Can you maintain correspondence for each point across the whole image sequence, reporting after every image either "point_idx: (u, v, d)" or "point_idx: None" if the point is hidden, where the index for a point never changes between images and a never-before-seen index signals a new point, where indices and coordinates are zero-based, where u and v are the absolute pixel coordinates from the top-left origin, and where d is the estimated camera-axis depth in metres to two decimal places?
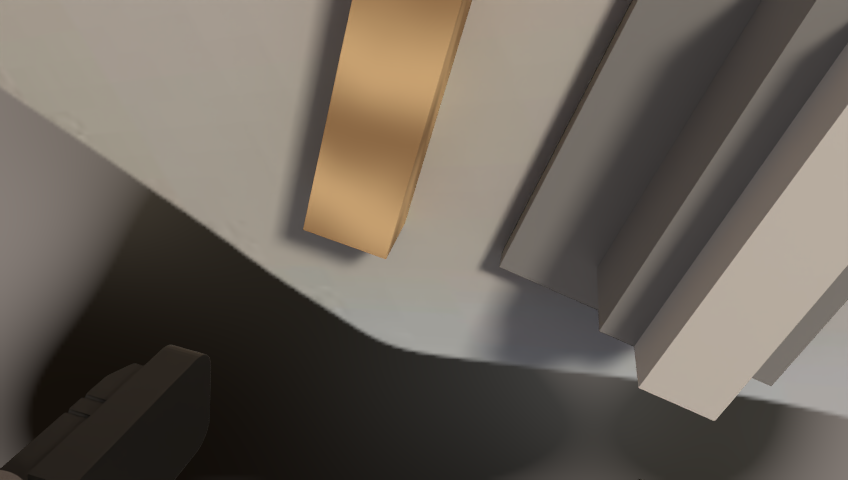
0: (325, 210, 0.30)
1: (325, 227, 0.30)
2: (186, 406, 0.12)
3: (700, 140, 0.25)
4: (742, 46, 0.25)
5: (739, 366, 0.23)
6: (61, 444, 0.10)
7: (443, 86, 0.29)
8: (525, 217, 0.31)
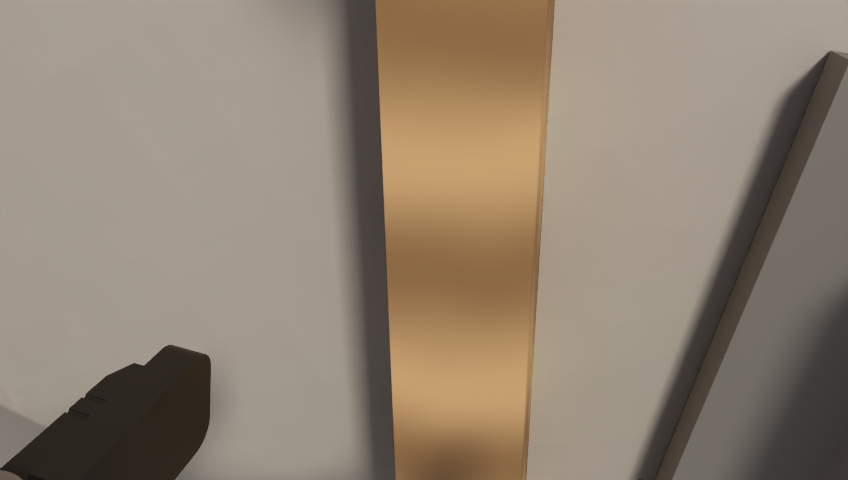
0: None
1: None
2: (186, 407, 0.12)
3: None
4: None
5: None
6: (61, 444, 0.10)
7: (531, 365, 0.22)
8: None
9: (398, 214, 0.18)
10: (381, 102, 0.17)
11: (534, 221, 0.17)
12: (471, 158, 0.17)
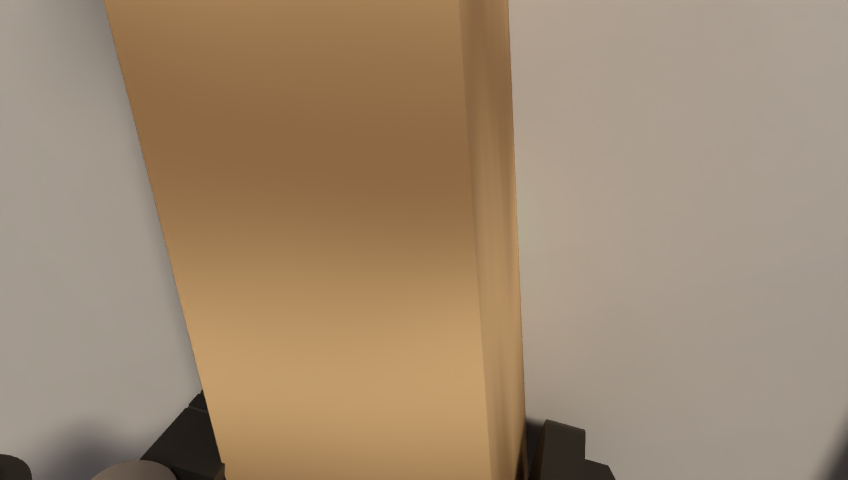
0: None
1: None
2: None
3: None
4: None
5: None
6: (196, 437, 0.10)
7: None
8: None
9: (245, 465, 0.10)
10: (177, 280, 0.09)
11: None
12: (358, 377, 0.09)
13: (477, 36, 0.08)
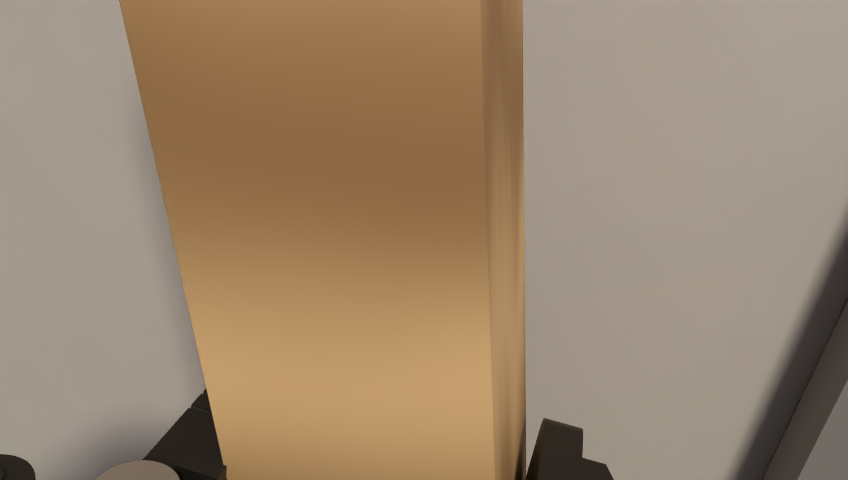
0: None
1: None
2: None
3: None
4: None
5: None
6: (199, 438, 0.10)
7: None
8: None
9: (247, 466, 0.10)
10: (185, 280, 0.09)
11: None
12: (364, 382, 0.09)
13: (495, 44, 0.08)
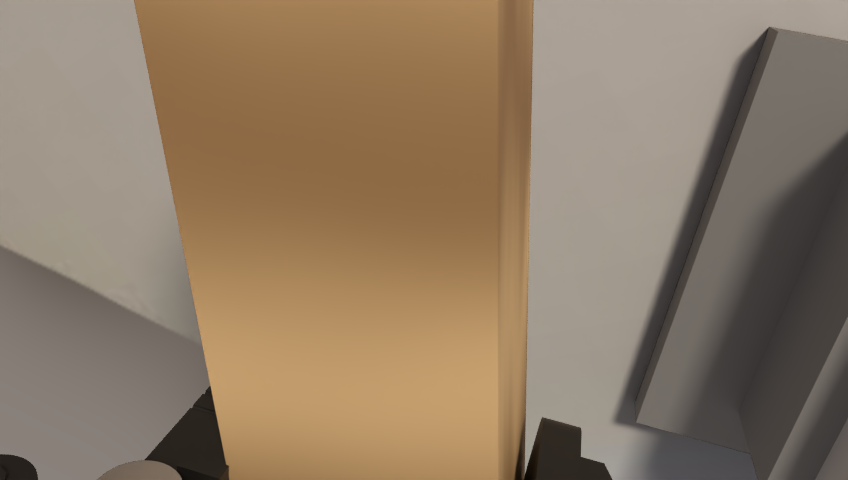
0: None
1: None
2: None
3: (826, 291, 0.25)
4: (847, 192, 0.25)
5: None
6: (201, 438, 0.10)
7: None
8: (654, 372, 0.31)
9: (250, 467, 0.10)
10: (191, 281, 0.09)
11: None
12: (369, 386, 0.09)
13: (509, 53, 0.08)
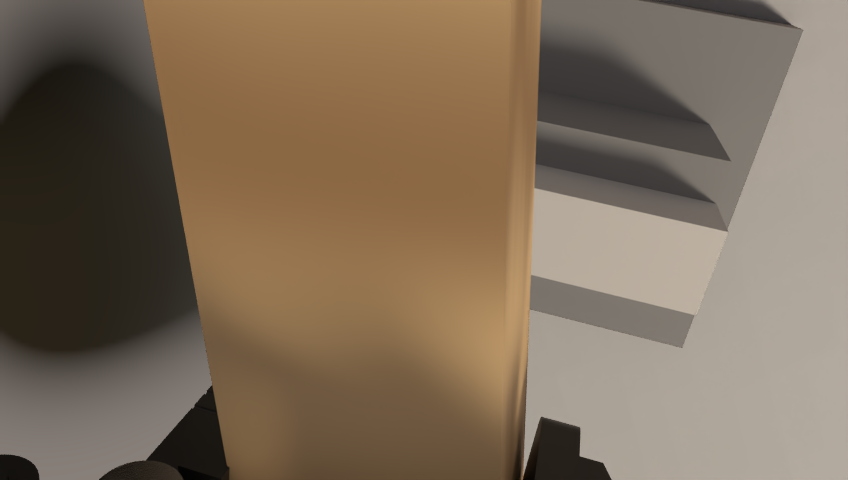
0: None
1: None
2: None
3: (548, 108, 0.25)
4: (635, 115, 0.26)
5: None
6: (202, 438, 0.10)
7: None
8: None
9: (251, 470, 0.10)
10: (197, 285, 0.09)
11: None
12: (373, 391, 0.09)
13: (519, 61, 0.08)
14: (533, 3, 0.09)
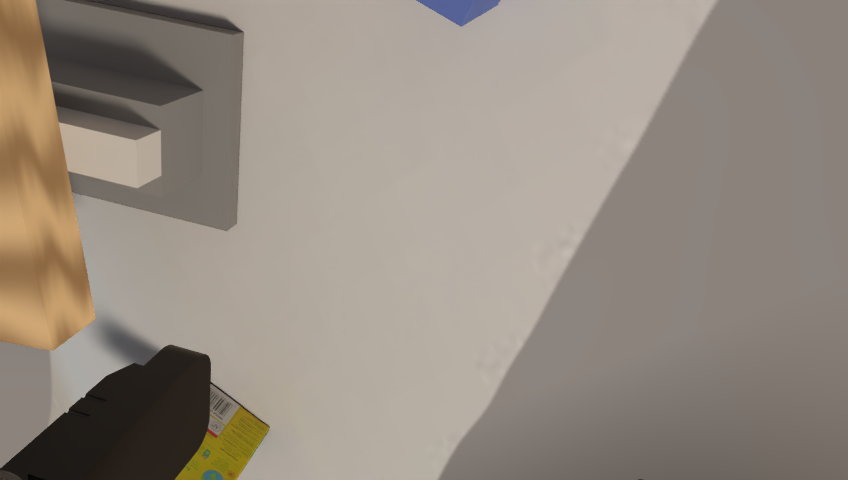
0: (4, 323, 0.42)
1: (9, 336, 0.42)
2: (186, 407, 0.12)
3: (93, 79, 0.44)
4: (155, 84, 0.45)
5: None
6: (61, 444, 0.10)
7: (59, 222, 0.41)
8: None
9: None
10: None
11: (4, 134, 0.37)
12: None
13: None
14: (17, 11, 0.36)
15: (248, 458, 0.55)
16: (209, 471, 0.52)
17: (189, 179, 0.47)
